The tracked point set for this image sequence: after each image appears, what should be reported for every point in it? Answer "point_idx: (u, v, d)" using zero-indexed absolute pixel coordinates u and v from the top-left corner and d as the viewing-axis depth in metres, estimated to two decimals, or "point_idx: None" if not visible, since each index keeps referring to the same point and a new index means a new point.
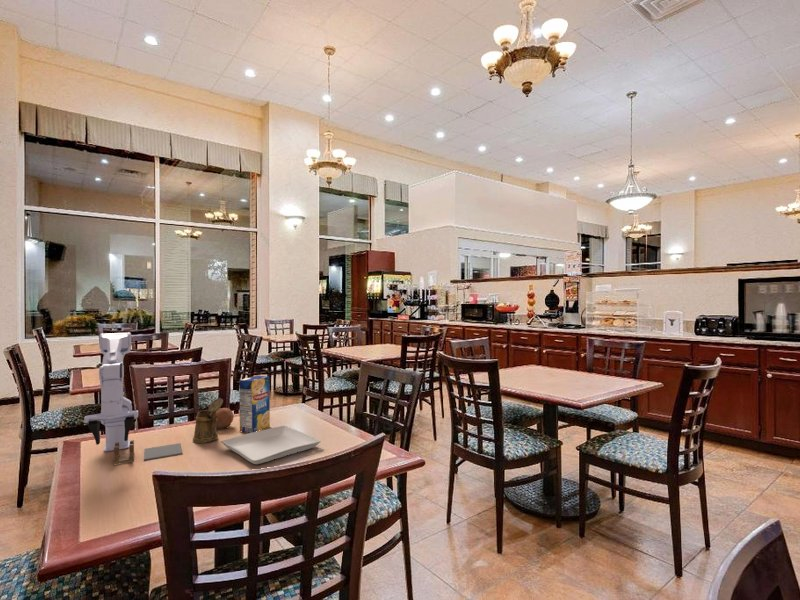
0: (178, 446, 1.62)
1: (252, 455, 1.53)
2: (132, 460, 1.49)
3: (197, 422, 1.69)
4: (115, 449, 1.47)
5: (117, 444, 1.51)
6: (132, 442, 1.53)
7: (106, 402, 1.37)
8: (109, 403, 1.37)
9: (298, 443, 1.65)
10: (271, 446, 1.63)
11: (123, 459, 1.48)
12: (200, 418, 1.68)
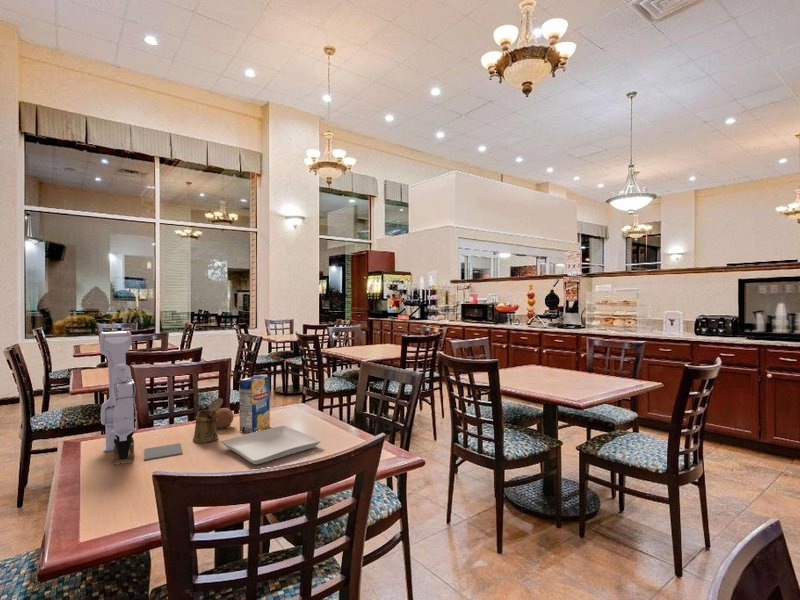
0: (178, 446, 1.62)
1: (252, 455, 1.53)
2: (132, 460, 1.49)
3: (197, 422, 1.69)
4: (115, 448, 1.47)
5: None
6: (132, 442, 1.53)
7: None
8: (114, 419, 1.49)
9: (298, 443, 1.65)
10: (271, 446, 1.63)
11: None
12: (200, 418, 1.68)
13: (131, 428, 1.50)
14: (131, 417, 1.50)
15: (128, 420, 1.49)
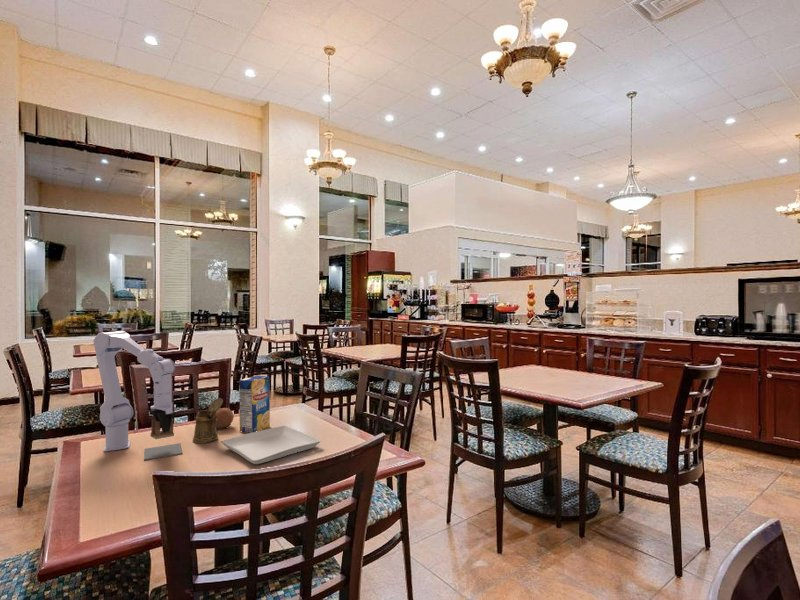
0: (178, 446, 1.62)
1: (252, 455, 1.53)
2: (172, 434, 1.57)
3: (197, 422, 1.69)
4: (157, 424, 1.54)
5: (154, 420, 1.57)
6: None
7: (154, 393, 1.57)
8: (154, 395, 1.56)
9: (298, 443, 1.65)
10: (271, 446, 1.63)
11: (163, 434, 1.56)
12: (200, 418, 1.68)
13: (171, 403, 1.58)
14: (171, 392, 1.58)
15: (169, 395, 1.57)
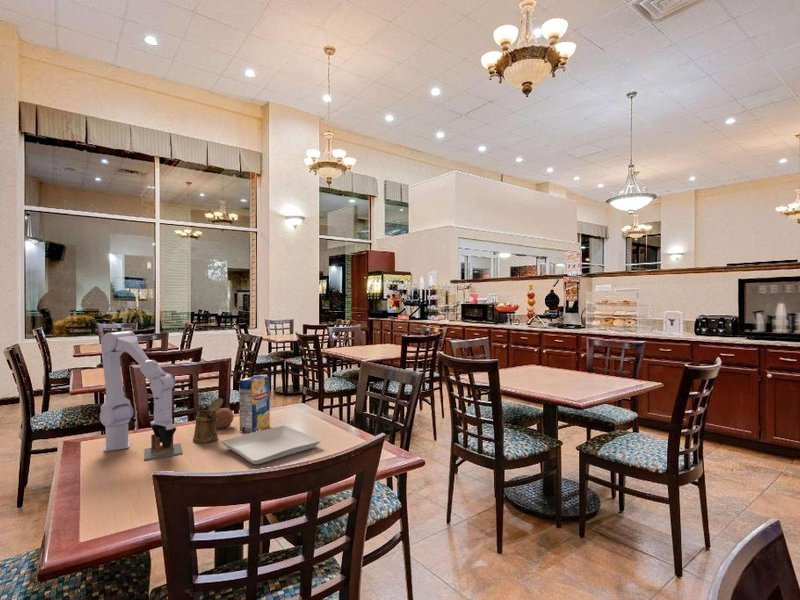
0: (178, 446, 1.62)
1: (252, 455, 1.53)
2: (172, 449, 1.57)
3: (197, 422, 1.69)
4: (157, 440, 1.54)
5: (154, 436, 1.57)
6: None
7: (154, 409, 1.57)
8: (154, 410, 1.56)
9: (298, 443, 1.65)
10: (271, 446, 1.63)
11: (163, 449, 1.56)
12: (200, 418, 1.68)
13: (171, 418, 1.58)
14: (171, 408, 1.58)
15: (169, 410, 1.57)
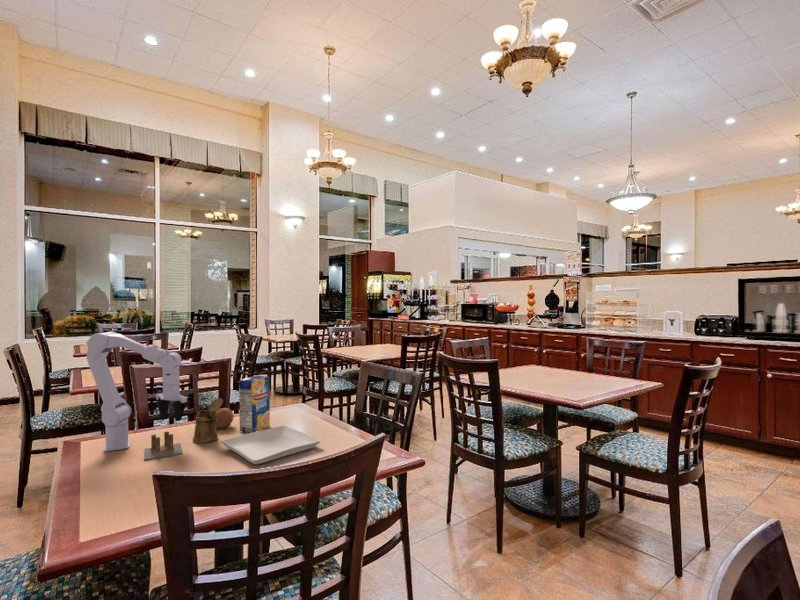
0: (178, 446, 1.62)
1: (252, 455, 1.53)
2: (172, 449, 1.57)
3: (197, 422, 1.69)
4: (157, 440, 1.54)
5: (154, 436, 1.57)
6: (167, 433, 1.61)
7: (163, 385, 1.63)
8: (164, 386, 1.63)
9: (298, 443, 1.65)
10: (271, 446, 1.63)
11: (163, 449, 1.56)
12: (200, 418, 1.68)
13: (179, 393, 1.67)
14: None
15: (178, 386, 1.66)
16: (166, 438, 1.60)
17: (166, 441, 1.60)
